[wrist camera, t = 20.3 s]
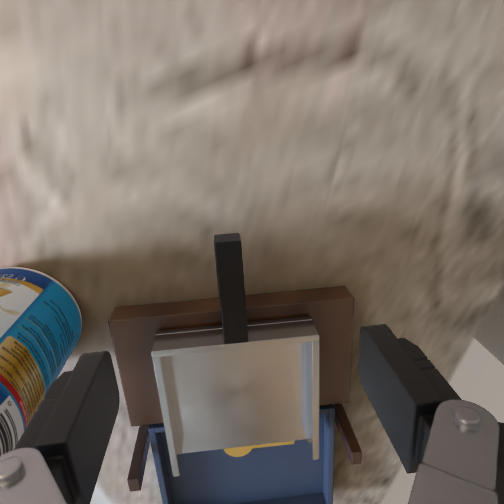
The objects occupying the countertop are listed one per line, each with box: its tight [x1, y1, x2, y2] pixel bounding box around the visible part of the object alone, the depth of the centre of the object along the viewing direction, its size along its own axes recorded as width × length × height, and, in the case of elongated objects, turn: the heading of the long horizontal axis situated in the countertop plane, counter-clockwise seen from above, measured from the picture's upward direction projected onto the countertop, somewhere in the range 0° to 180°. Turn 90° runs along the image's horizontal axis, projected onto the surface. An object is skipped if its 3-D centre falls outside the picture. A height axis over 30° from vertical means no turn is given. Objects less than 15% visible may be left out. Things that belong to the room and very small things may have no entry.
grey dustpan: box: [151, 233, 319, 477], centre depth 28 cm, size 11×18×2 cm, turn 3°
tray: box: [148, 404, 335, 504], centre depth 35 cm, size 15×12×2 cm
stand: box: [108, 286, 362, 491], centre depth 30 cm, size 17×13×5 cm
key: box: [224, 441, 294, 457], centre depth 34 cm, size 6×3×1 cm, turn 93°
